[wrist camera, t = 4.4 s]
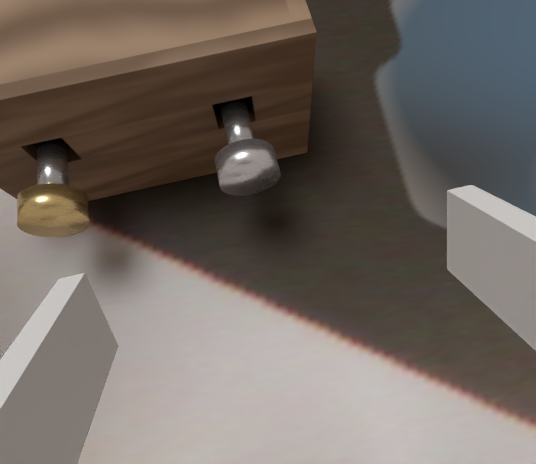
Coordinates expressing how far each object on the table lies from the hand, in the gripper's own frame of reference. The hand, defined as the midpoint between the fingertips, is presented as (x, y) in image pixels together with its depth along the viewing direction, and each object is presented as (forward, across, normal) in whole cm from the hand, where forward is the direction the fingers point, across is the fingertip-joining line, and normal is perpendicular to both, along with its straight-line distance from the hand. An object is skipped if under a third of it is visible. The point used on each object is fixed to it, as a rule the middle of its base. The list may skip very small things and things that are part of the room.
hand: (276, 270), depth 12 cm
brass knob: (+20, -14, -1) cm, 25 cm away
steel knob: (+20, 0, -1) cm, 20 cm away
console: (+30, -7, 0) cm, 31 cm away
